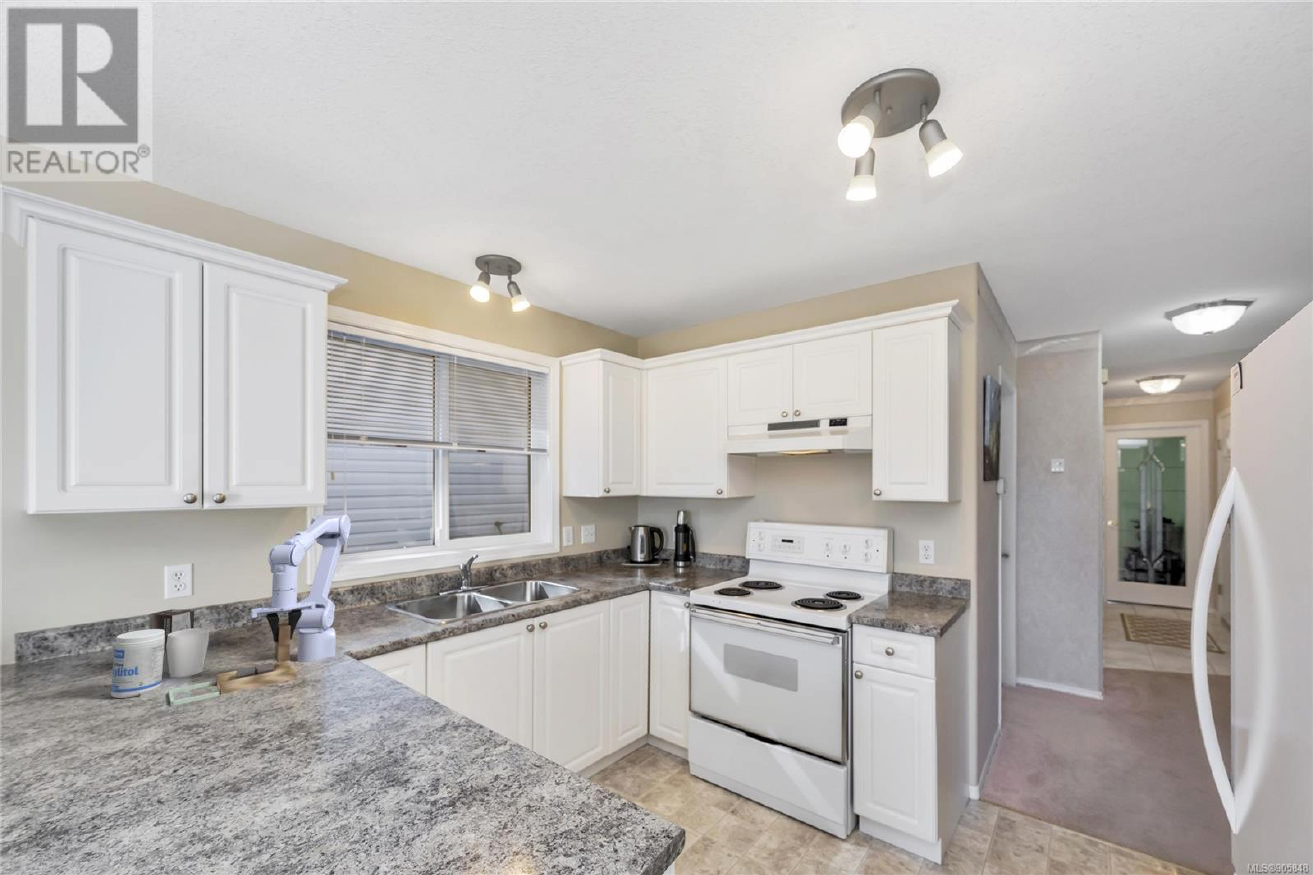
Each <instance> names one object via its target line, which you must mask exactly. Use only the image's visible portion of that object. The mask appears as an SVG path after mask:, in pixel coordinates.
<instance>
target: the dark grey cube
mask: <svg viewBox="0 0 1313 875" xmlns="http://www.w3.org/2000/svg"><path fill="white" fill-rule="evenodd" d="M254 667H255V666H248V667H245V668H244V667H243V668H239V669H236V671H237V672H236V679H239V678H244V677H249V676H254V675H255V669H254Z"/></svg>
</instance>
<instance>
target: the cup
mask: <svg viewBox="0 0 1313 875" xmlns="http://www.w3.org/2000/svg"><path fill="white" fill-rule="evenodd" d="M209 637H210V636H209V628H207V627H194V628H193V629H185V630H180V631H175V632H172V633H170V634H168V638H167V645H166V649H167V657H168V665H169V672H170V673H169V678H170V679H171V678H184V677H189V676H193V675H196V674H200V673H203V668H204V664H205V660H206V659H205V658H206V655H207V651H208V646H209V642H210V641H209V640H210V638H209Z"/></svg>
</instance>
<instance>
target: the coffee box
mask: <svg viewBox="0 0 1313 875" xmlns="http://www.w3.org/2000/svg"><path fill="white" fill-rule="evenodd" d="M148 623H149V624H148V629H162V630H164V631H165V644H164V657H163V669H162V673H167V674H170V672H169V665H168V657H167V649H166V645H167V638H168V634H170V633H172V632H175V631H180V630H185V629H193V628H195V627H194V624H195V610H190V609H175V608H174V609H173V608H172V609H167V610H162V611H158V612H154V613H150V614H149V620H148Z"/></svg>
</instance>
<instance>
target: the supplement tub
mask: <svg viewBox="0 0 1313 875" xmlns="http://www.w3.org/2000/svg"><path fill="white" fill-rule="evenodd" d="M164 644H165V631H164V630H162V629H149V628H147V629H140V630H134V631H129V632H125V633H122V634H119V635H117V636H116V639H115V642H114V650H113V659H112V660H113V662H112V663H113V664H112V674H111V685H110V695H111V696H112V697H113V698H115V699H116V698H117V699H128V698H133V697H139V696H141V693H143V692H144V693H145V692H148V691H151V690H154V689H156V688H158V687H160V686H162V678H163V672H162V669H163V657H164Z"/></svg>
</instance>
